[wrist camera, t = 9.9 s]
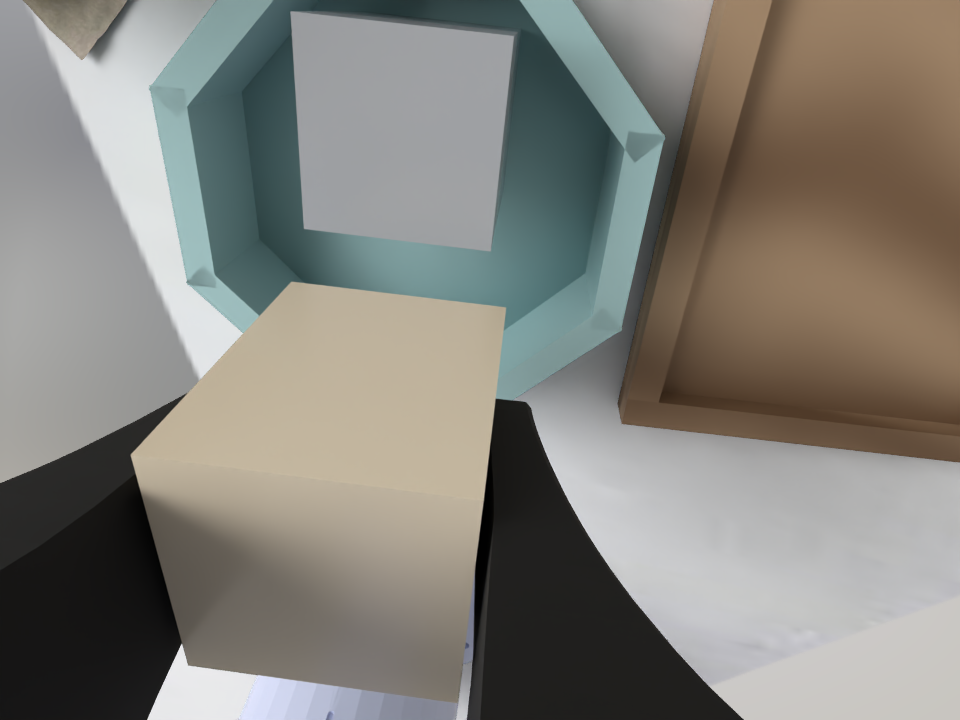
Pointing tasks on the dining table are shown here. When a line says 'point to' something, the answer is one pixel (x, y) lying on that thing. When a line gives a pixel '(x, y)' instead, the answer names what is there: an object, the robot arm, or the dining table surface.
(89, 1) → the condiment
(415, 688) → the beige block
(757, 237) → the tray
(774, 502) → the dining table surface
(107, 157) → the dining table surface
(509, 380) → the bowl
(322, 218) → the grey block
